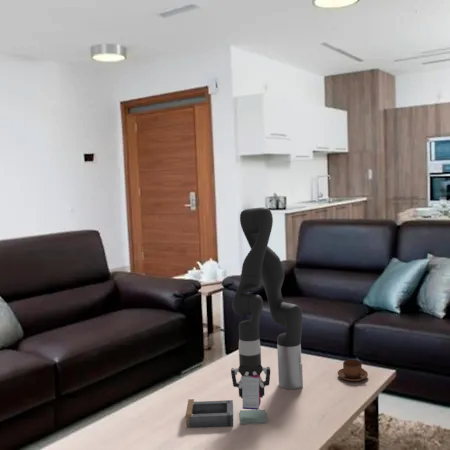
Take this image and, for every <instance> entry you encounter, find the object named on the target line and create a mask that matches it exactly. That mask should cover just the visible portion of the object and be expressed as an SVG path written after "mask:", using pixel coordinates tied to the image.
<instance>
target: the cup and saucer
mask: <svg viewBox="0 0 450 450" xmlns="http://www.w3.org/2000/svg"><path fill="white" fill-rule="evenodd" d="M362 365H363V363H362V362H361V361H360V360H356V359H347V360H344V361H343V362H342V367H343V368H341V369H338V371H337V375H338V377H339V378H341V379H342V380H345V381H349V382H358V381H362V380H363V381H364V380H365V379H366V378H368V376H369V374H368V371H367V370H365V369H364V368H362Z"/></svg>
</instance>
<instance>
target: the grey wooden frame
mask: <svg viewBox="0 0 450 450" xmlns="http://www.w3.org/2000/svg"><path fill="white" fill-rule="evenodd" d="M185 425H186V429H205V428H206V429H207V428H227V427H231V428H232V427H234V401H233V400H232V399H230V400H226V399H225V400H206V401H205V400H204V401H195V399H194V398H192V399H190V398H189V399H188V400H187V406H186V410H185Z"/></svg>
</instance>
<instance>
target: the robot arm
mask: <svg viewBox="0 0 450 450" xmlns="http://www.w3.org/2000/svg"><path fill="white" fill-rule="evenodd" d="M239 223H240V226H241V230H242V232H243V234H244V236H245V239H246V241H247V243H248V246H249V247H250V250H249V252H248V253H247V255H246V256H245V258H244V260H243V263H242V266H241V275H240V281H239V284H238V286H237V289H236V292H235V294H234V297H233V299H232V301H231V302H232V303H231V308H232V310H233V312H234V314H236V315H244V316H245V315H246V316H247V315H249V316H251V318H250V319H245V320H241V321H240V322H239V323H238V358H239V359H238V361H239V365H238V368H233V367H232V368H231V369H230V376H231V379H232V380H231V381H232V386H233V387H234V388H238V396H239V398H240V399H243V397H242V377H243V376H258V377H259V375H260V377H259V384H260V396H261V399H263V398H264V397H265V387H268V386H270V380H271V367H270V366H266V367H265V366H264V367H263V366H262V355H261V354H262V353H261V351H262V350H261V340H260V322H261V317H262V316H261V315H262V313H263V309H264V300H263V298H262V296H261V295H259V294H250V293H248V292H249V291H251V290H256V289H258V288H260V286H261V282H262V285H263V289H264V291H265V295H266V298H267V302H268V307H269V312H270V316H271V319H272V321H273V322H274V324H276V325H278V326H280V327H285V329H286V330H285V331H286V332H283V333H280V334H279V335H277V337H276V343H277V347H276V349H277V371H278V386H279V387H280V388H281V389H285V390H296V389H299V388H303V387H304V384H303V383H304V380H303V379H304V378H303V375H304V374H303V363H302V346H301V345H302V344H301V342H302V335H303V312H302V309H301V307H300V306H299V305H297V304H295V303H294V304H293V303H289V302H285V301H284V298H283V295H282V287H283V284H284V280H285V270H284V267H283V263H282V261H281V258H280V256H279V255H278V254H277V253H276V252H275V251H274V250H272V248H270V246H268V244H269V240H270V238H271V237H270V236H271V233H272V229H273V223H274V220H273V213H272V211H271V209H269V208H268V207H266V206H264V207H262V206H261V207H254V208H247V209H243V210H242V211H241V212H240V213H239ZM238 373H239V374H240V375H241V377H240V379H239V381H237V375H238ZM262 373H264V375H265V380H264V381H263V378H262V377H261V374H262Z"/></svg>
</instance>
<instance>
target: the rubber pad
mask: <svg viewBox="0 0 450 450" xmlns="http://www.w3.org/2000/svg"><path fill="white" fill-rule="evenodd" d="M266 412H267V411H266V409H258V410H254V409H243V410H239V414H240V415H239V418H240V425H253V424H254V425H258V424H260V425H261V424H267V422H268V421H267V413H266Z"/></svg>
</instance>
